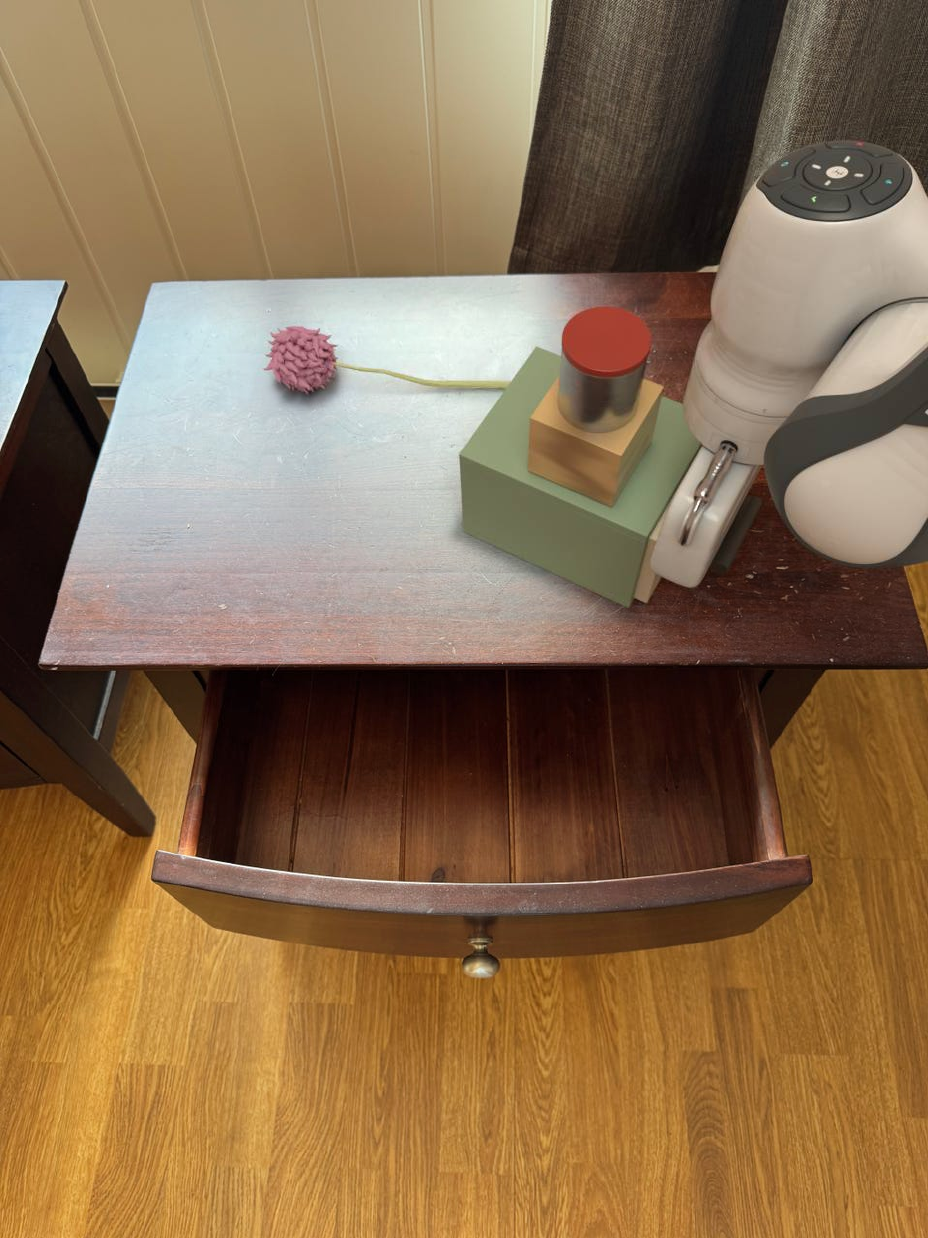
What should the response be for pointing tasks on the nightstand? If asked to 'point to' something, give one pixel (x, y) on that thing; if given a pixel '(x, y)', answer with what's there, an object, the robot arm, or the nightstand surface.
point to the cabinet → (567, 492)
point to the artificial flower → (329, 362)
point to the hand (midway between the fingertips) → (712, 518)
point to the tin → (602, 368)
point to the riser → (591, 447)
